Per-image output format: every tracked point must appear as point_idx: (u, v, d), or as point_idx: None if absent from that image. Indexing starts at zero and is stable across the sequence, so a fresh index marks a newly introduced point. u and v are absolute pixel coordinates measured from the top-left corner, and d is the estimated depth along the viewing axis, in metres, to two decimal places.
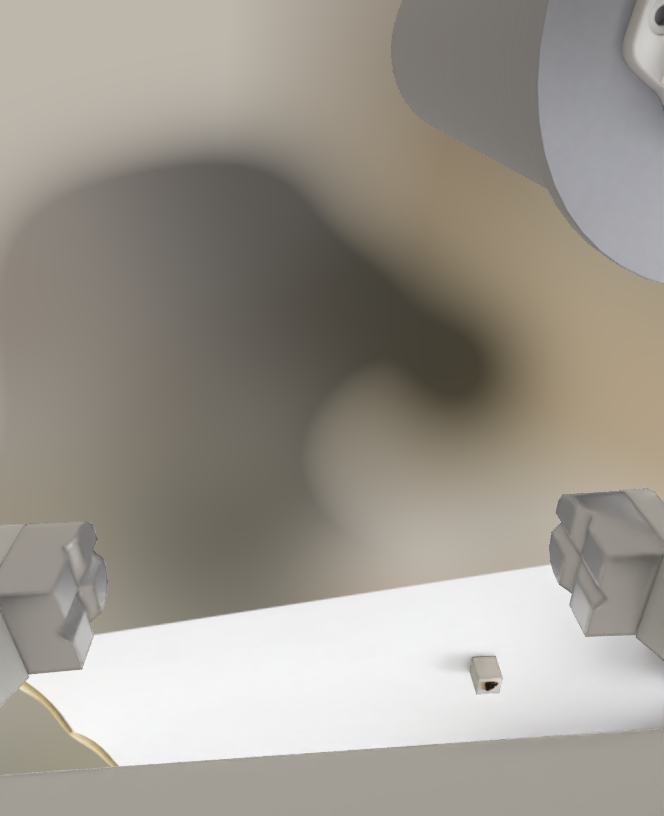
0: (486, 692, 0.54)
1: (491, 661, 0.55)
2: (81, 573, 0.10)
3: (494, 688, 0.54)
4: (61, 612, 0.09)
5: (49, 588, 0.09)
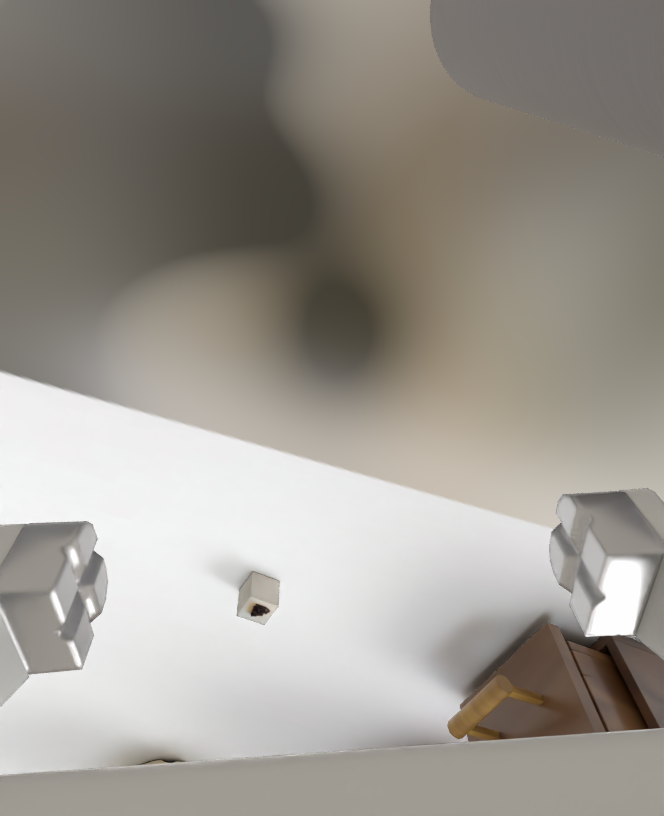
0: (249, 618, 0.41)
1: (272, 584, 0.42)
2: (81, 573, 0.10)
3: (261, 616, 0.41)
4: (61, 612, 0.09)
5: (50, 588, 0.09)
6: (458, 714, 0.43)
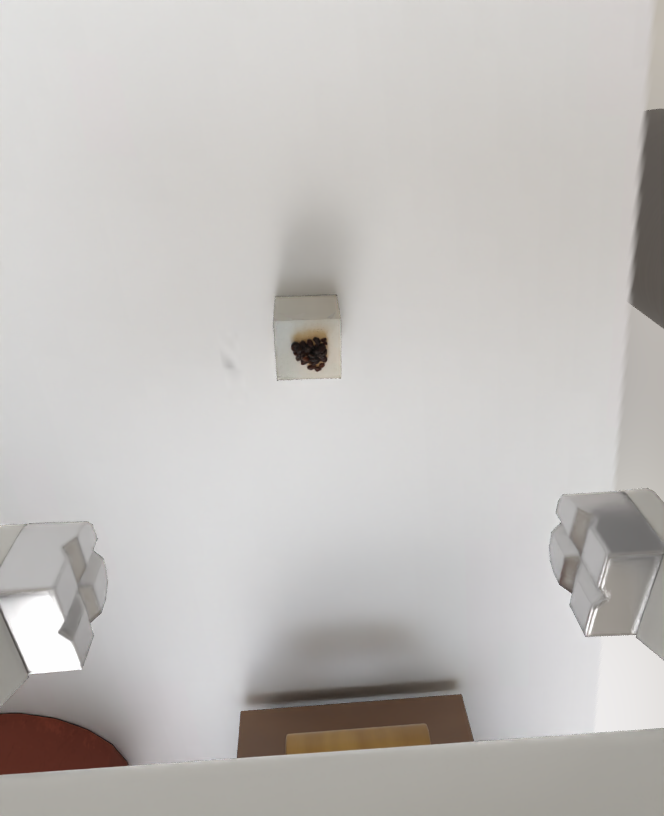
0: (280, 347, 0.19)
1: None
2: (81, 573, 0.10)
3: (296, 365, 0.20)
4: (61, 612, 0.09)
5: (49, 588, 0.09)
6: (319, 736, 0.25)
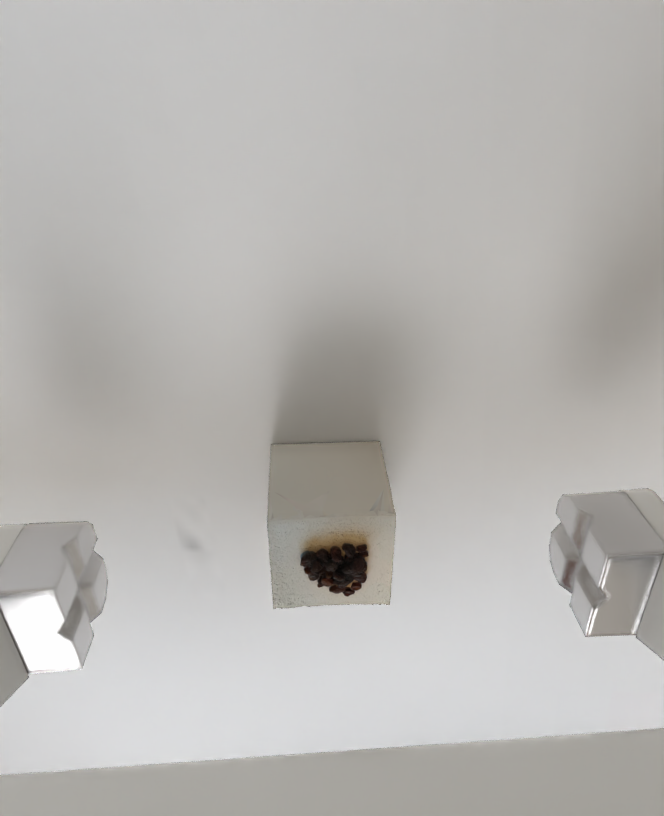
0: (279, 560, 0.10)
1: None
2: (81, 573, 0.10)
3: (310, 586, 0.11)
4: (61, 612, 0.09)
5: (49, 588, 0.09)
6: None
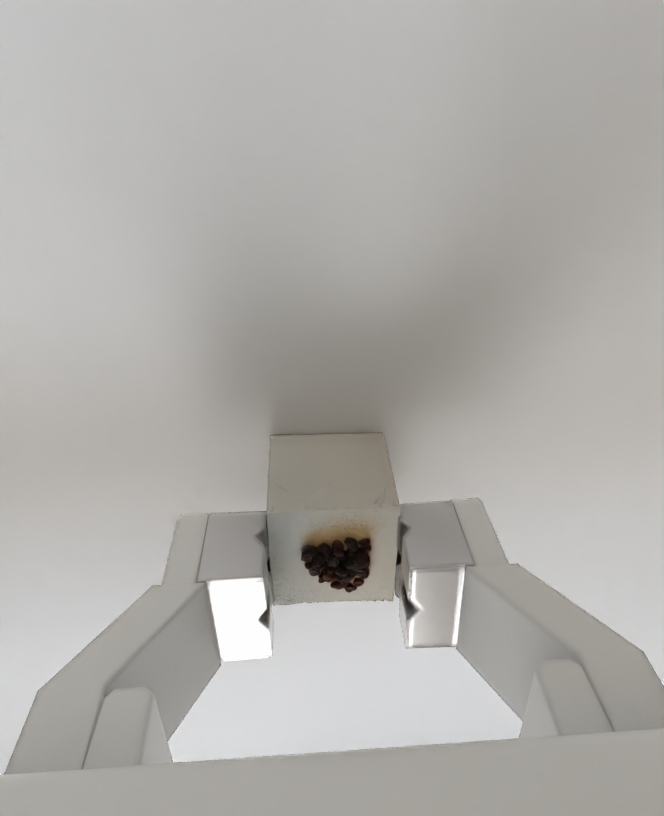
0: (279, 554, 0.10)
1: None
2: None
3: (311, 581, 0.10)
4: (265, 599, 0.09)
5: (259, 575, 0.09)
6: None
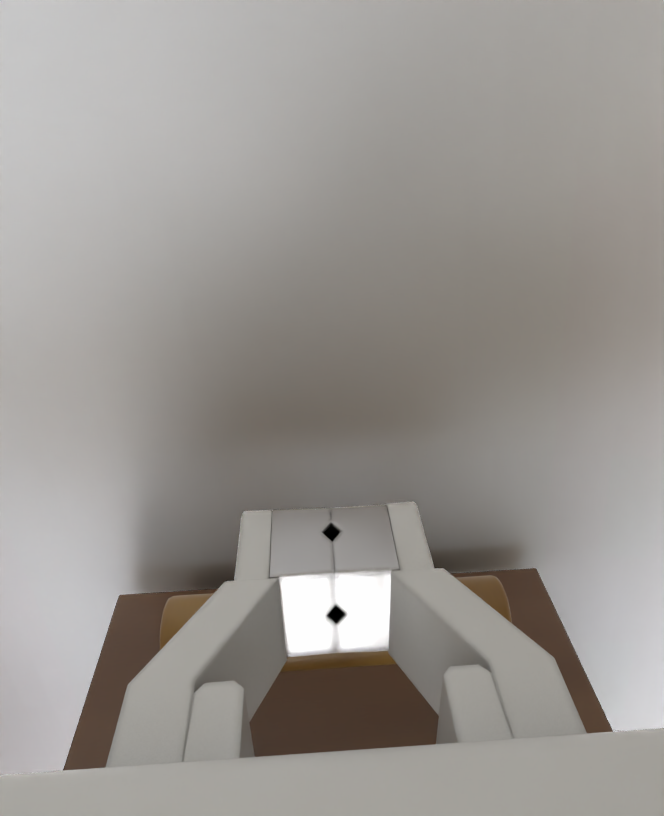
0: None
1: None
2: None
3: None
4: (335, 595, 0.09)
5: (330, 571, 0.09)
6: None
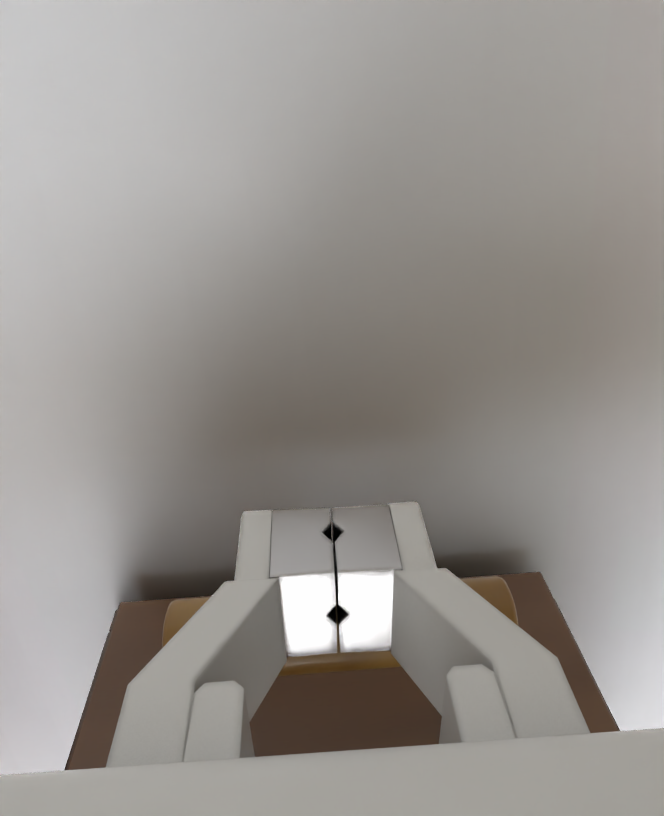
0: None
1: None
2: None
3: None
4: (335, 595, 0.09)
5: (330, 571, 0.09)
6: None
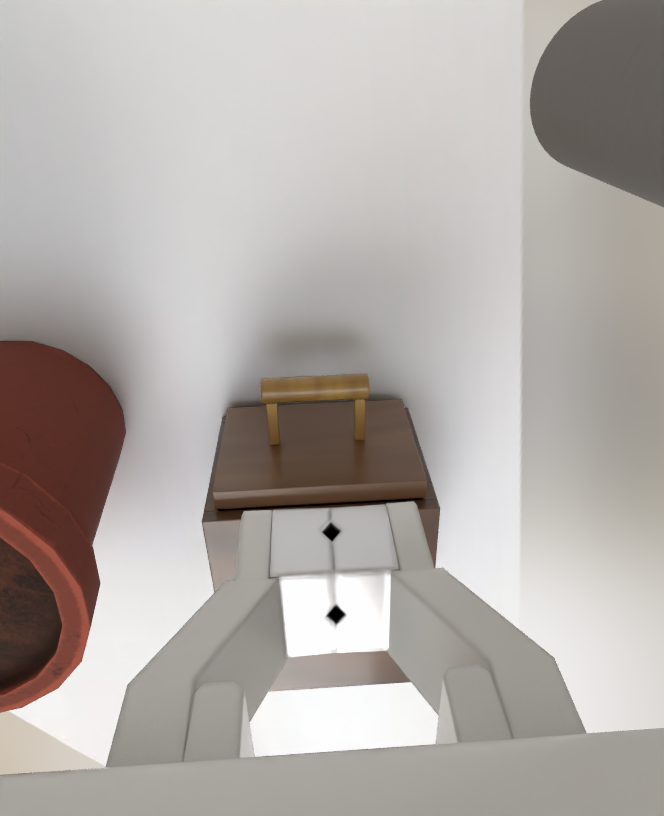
0: None
1: None
2: None
3: None
4: (335, 595, 0.09)
5: (330, 571, 0.09)
6: (286, 377, 0.34)
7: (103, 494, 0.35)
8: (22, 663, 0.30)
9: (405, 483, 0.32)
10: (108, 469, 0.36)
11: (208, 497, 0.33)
